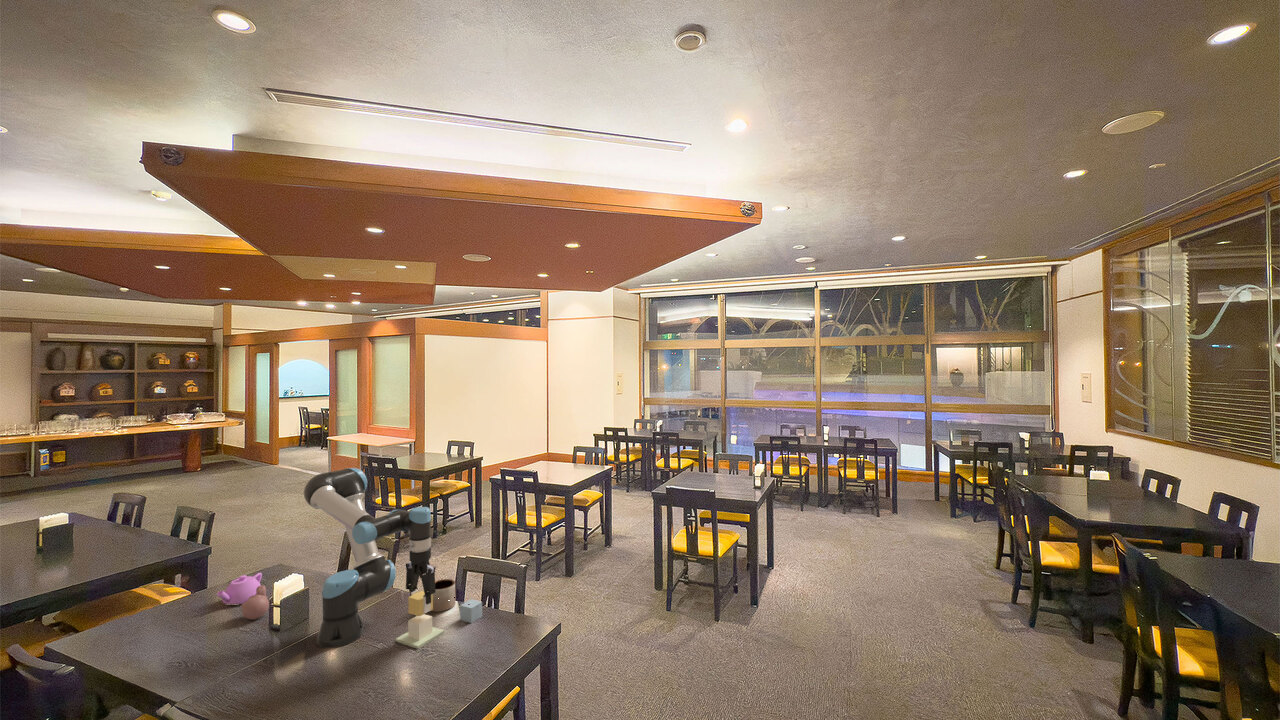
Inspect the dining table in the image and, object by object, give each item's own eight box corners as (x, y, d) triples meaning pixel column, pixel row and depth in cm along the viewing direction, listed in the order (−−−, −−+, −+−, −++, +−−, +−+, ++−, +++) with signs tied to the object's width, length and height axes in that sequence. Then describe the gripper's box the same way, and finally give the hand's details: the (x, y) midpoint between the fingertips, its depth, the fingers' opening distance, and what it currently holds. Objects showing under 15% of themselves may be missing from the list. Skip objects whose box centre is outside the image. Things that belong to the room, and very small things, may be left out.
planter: (449, 612, 205) (449, 589, 205) (423, 613, 205) (423, 590, 205) (459, 600, 215) (459, 578, 216) (434, 600, 216) (434, 578, 216)
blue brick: (460, 620, 198) (460, 605, 199) (471, 613, 204) (471, 599, 204) (471, 623, 196) (471, 608, 196) (482, 616, 201) (482, 601, 201)
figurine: (254, 611, 208) (254, 582, 208) (274, 614, 205) (274, 585, 205) (232, 621, 199) (232, 592, 199) (253, 624, 196) (253, 594, 197)
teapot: (204, 610, 209) (204, 585, 209) (248, 589, 229) (248, 567, 229) (232, 612, 207) (232, 587, 207) (274, 591, 226) (274, 568, 227)
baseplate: (395, 641, 183) (395, 622, 183) (422, 626, 194) (422, 608, 194) (418, 649, 178) (418, 629, 178) (444, 632, 189) (444, 614, 189)
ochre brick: (408, 613, 185) (408, 597, 185) (421, 606, 190) (421, 590, 190) (419, 616, 182) (419, 600, 182) (432, 609, 187) (432, 593, 188)
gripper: (394, 548, 187) (395, 609, 187) (429, 556, 179) (430, 619, 178) (411, 542, 194) (411, 601, 194) (446, 549, 186) (446, 610, 185)
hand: (420, 610), depth 186 cm, fingers closed on ochre brick, 6 cm apart
